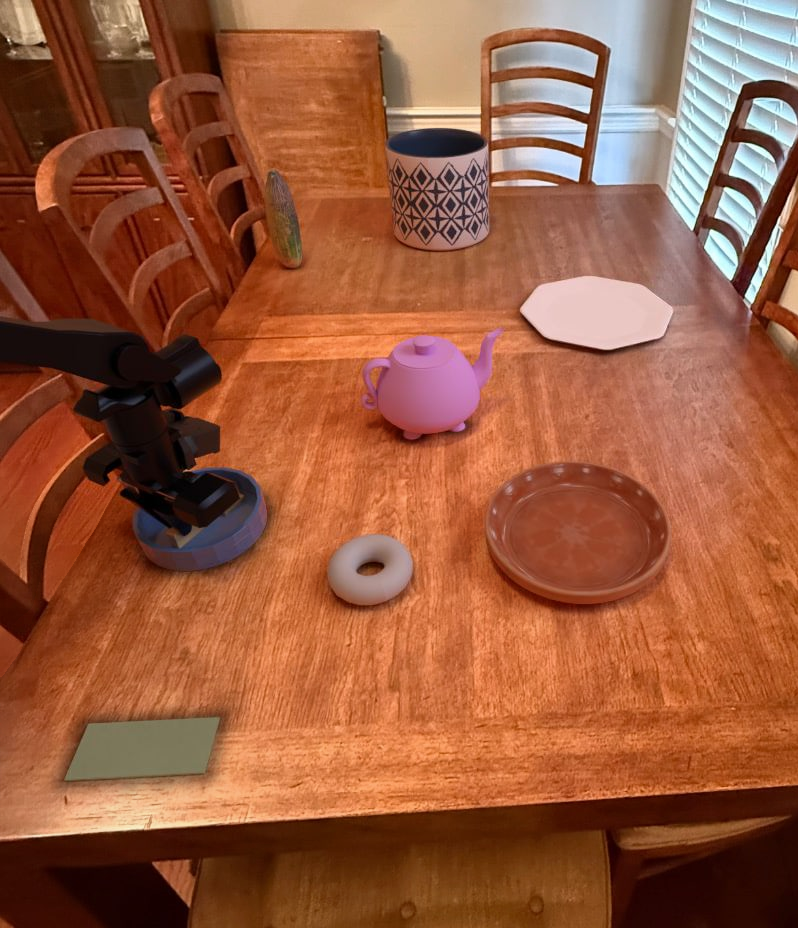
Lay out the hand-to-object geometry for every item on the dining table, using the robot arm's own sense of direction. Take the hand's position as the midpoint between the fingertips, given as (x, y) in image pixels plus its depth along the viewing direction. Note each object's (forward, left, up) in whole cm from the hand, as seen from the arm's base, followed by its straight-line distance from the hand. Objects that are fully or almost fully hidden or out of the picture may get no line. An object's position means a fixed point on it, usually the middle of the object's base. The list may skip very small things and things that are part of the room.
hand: (182, 531), depth 85 cm
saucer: (+41, -26, -2) cm, 49 cm away
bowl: (+3, +2, -2) cm, 4 cm away
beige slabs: (+3, +2, -1) cm, 3 cm away
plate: (+81, +19, -2) cm, 83 cm away
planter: (+75, +70, -2) cm, 103 cm away
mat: (-10, -26, -2) cm, 28 cm away
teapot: (+39, +7, -2) cm, 40 cm away
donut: (+17, -18, -2) cm, 25 cm away
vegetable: (+39, +72, -2) cm, 82 cm away
